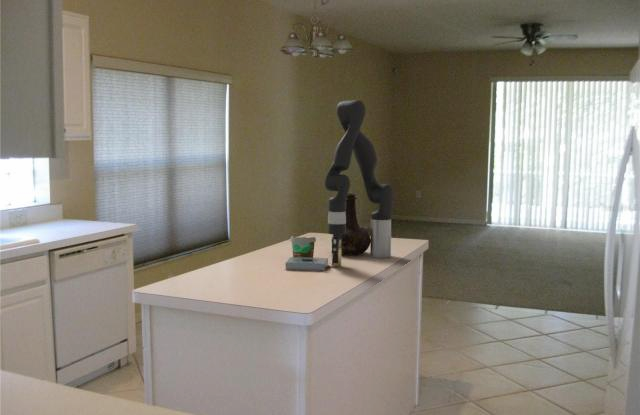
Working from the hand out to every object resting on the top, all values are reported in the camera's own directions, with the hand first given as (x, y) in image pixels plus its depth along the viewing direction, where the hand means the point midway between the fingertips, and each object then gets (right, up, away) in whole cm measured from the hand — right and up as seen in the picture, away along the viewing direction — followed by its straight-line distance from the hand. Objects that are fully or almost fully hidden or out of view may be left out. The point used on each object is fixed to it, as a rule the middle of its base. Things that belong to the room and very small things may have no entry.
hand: (336, 261), depth 267 cm
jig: (-12, -2, -1) cm, 12 cm away
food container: (-16, -1, +18) cm, 24 cm away
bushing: (0, -2, 0) cm, 2 cm away
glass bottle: (+8, +1, +31) cm, 32 cm away
